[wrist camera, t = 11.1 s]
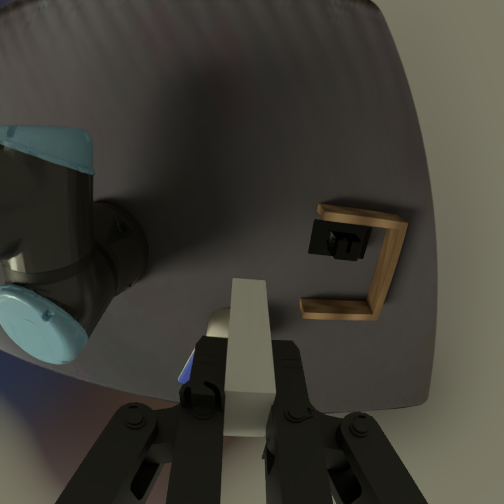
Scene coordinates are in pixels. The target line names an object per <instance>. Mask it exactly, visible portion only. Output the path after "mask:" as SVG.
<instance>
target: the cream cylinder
mask: <svg viewBox="0 0 504 504" xmlns="http://www.w3.org/2000/svg"><path fill="white" fill-rule="evenodd" d="M229 321H230V308H223V309H219V310H217V311H215V312H214V313H213V314H212V315H211V316H210V318H209V322H208V328H207V334H206V336H212V337H224V338H228V334H229Z"/></svg>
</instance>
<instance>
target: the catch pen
mask: <svg viewBox="0 0 504 504" xmlns="http://www.w3.org/2000/svg"><path fill="white" fill-rule="evenodd" d="M317 212H318V213H319V215H320V216H321V217H322V219H323V220H325V221H334V222H343V223H351V224H359V225H367V226H375V227H383V228H387V230H386V234H385V238H384V242H383V245H382V249H381V253H380V256H379V260H378V263H377V267H376V270H375V273H374V277H373V280H372V283H371V286H370V290H369V293H368V296H367V299H366V301H347V300H325V299H305V298H300V303H299V305H300V309H301V313H302V317H303V319H330V320H377V319H378V317H379V314H380V311H381V309H382V306H383V303H384V300H385V298H386V295H387V292H388V289H389V286H390V283H391V280H392V277H393V274H394V271H395V268H396V265H397V261H398V258H399V255H400V251H401V248H402V244H403V241H404V237H405V234H406V230H407V226H408V222H406V221H405V220H404V219H402V218H401V217H400V216H398V215H397V214H391V213H385V212H378V211H371V210H364V209H357V208H350V207H342V206H335V205H327V204H318V210H317Z"/></svg>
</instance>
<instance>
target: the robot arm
mask: <svg viewBox="0 0 504 504" xmlns="http://www.w3.org/2000/svg"><path fill="white" fill-rule="evenodd" d="M93 175H95V170H94V169H93V140H92V138H91V136H90V134H89V133H88V132H87V131H85V130H83V129H80V128H72V127H59V126H40V125H0V260H1V263H2V268H3V272H4V277H5V285H2V286H0V324H1V326H2V327H3V329H4V330H5V332H6V333H7V334H8V335H9V337H10V338H11V339H12V340H13V341H14V342H15V343H16V344H17V345H19V346H20V347H21V348H22V349H23V350H25V351H26V352H27V353H29V354H30V355H32V356H34V357H36V358H38V359H40V360H42V361H45V362H48V363H52V364H66V363H69V362H70V361H72V360H74V359H75V358H76V357H77V356H78V354H79V353H80V352H81V350H82V349H83V348H84V347H85V346H86V345H87V343H88V340H89V337H90V335H91V334H92V332H93V330H94V328H95V327H96V325H97V323H98V322H99V320H100V318H101V317H102V315H103V313H104V312H105V310H106V309H107V307H108V305H109V304H110V302H111V301H112V299H113V297H115V296H117V295H118V294H120V293H122V292H123V291H126V290H127V289H129V288H130V287H132V286H133V285H134V284H135V283H136V282H137V281H138V279H139V278H140V276H141V274H142V273H143V271H144V269H145V267H146V264H147V259H148V247H147V242H146V238H145V236H144V233H143V231H142V229H141V227H140V226H139V224H138V223H137V221H136V220H135V219H134V218H133V217H132V216H131V215H130V214H129V213H128V212H126V211H125V210H124V209H122V208H120V207H118V206H116V205H114V204H111V203H106V202H95V203H93ZM179 395H180V403H179V404H178V405H176V406H174V407H172V408H167V409H160V410H152V409H151V408H150V407H148V406H147V405H145V404H142V403H137V402H135V403H128V404H125V405H123V406H121V407H120V408H119V409H118V410H117V411H116V413H115V414H114V416H113V417H112V418H111V420H110V421H109V423H108V424H107V426H106V427H105V429H104V430H103V432H102V433H101V435H100V436H99V438H98V439H97V441H96V442H95V443H94V445H93V447H92V448H91V449H90V451H89V452H88V454H87V456H86V457H85V458H84V460H83V461H82V463H81V464H80V466H79V467H78V469H77V471H76V472H75V474H74V475H73V477H72V478H71V480H70V481H69V483H68V484H67V486H66V487H65V489H64V490H63V492H62V493H61V495H60V496H59V498H58V500H57V501H56V503H55V504H145V502H146V500H147V498H148V496H149V494H150V492H151V490H152V488H153V486H154V484H155V482H156V480H157V478H158V476H159V474H160V472H161V470H162V468H163V466H164V464H165V463H169V462H172V465H171V471H170V478H169V485H168V491H167V499H166V504H220V494H221V471H222V451H223V435H228V436H247V437H264V436H265V433H266V445H265V448H264V451H263V455H262V459H265V479H266V502H267V504H333V500H332V495H333V498H334V500H335V502H336V504H428V503H427V501H426V499H425V498H424V496H423V495H422V493H421V492H420V490H419V488H418V487H417V485H416V484H415V482H414V480H413V478H412V477H411V475H410V474H409V472H408V470H407V469H406V467H405V466H404V464H403V462H402V461H401V459H400V458H399V456H398V455H397V453H396V451H395V450H394V448H393V447H392V445H391V443H390V442H389V440H388V439H387V437H386V435H385V434H384V432H383V431H382V429H381V428H380V426H379V425H378V423H377V422H376V421H375V419H374V418H373V417H372V416H369V415H368V414H366V413H361V412H354V413H350V414H348V415H346V416H345V417H344V418H343V419H342V418H337V417H333V416H328V415H325V414H322V413H321V412H319V411H317V410H316V409H315V408H314V407H313V406H312V404H311V403H310V401H309V398H308V392H307V387H306V382H305V377H304V371H303V366H302V362H301V356H300V351H299V349H298V347H297V346H296V345H295V343H294V342H293V341H286V340H271V334H270V324H269V313H268V303H267V293H266V283H265V281H263V280H250V279H238V278H233V284H232V296H231V308H230V321H229V334H228V338H224V337H212V336H202V337H201V339H200V340H199V341H198V342H197V343H196V346H195V351H194V356H193V362H192V367H191V372H190V378H189V381H187V382H186V383H185V384H183V385H182V387H181V389H180V391H179ZM331 493H332V494H331Z"/></svg>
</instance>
